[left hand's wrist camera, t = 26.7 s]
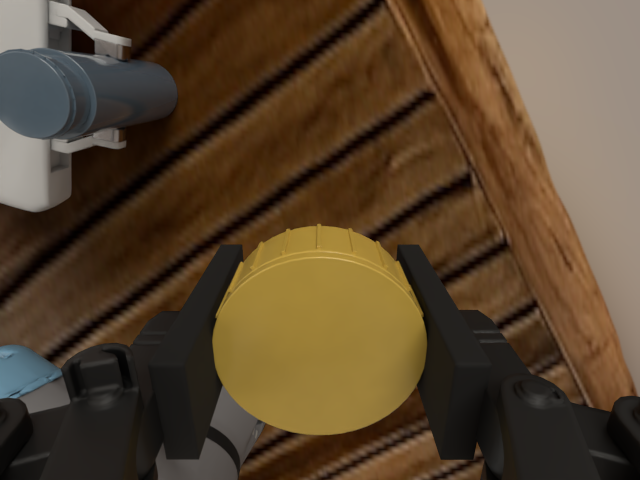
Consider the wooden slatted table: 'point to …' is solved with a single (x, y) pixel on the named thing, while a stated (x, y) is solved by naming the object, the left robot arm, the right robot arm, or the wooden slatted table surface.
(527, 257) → the wooden slatted table surface
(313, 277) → the lid
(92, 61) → the blue-grey cylinder
